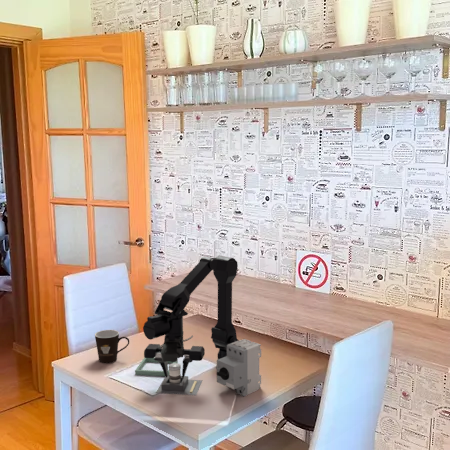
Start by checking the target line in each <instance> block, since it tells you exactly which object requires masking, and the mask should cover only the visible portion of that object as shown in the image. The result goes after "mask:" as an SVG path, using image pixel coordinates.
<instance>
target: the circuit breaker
mask: <svg viewBox="0 0 450 450" xmlns="http://www.w3.org/2000/svg"><path fill="white" fill-rule="evenodd" d="M238 340H239V341H236V342H233V343H231V344H228V345H227V356H226V357H223V358H221V359H218V358H217V360H216V367H215V369H216V382H217V384H219V385H223V386H225V387H227V388H229V389H232V390H236V391H235V394H237V395H240V396H242V397H246V396H248V395H250V394H252V393H255V392H257V391H259V390H261V389H262V387H261V385H262V375H261V374H260V358H262V348H261V345H262V344H260V343H258V342H254V341H251V340H249V339H246V338H243V339H238Z"/></svg>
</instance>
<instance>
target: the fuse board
mask: <svg viewBox="0 0 450 450" xmlns="http://www.w3.org/2000/svg"><path fill="white" fill-rule="evenodd" d="M202 383H203V380H201V379H189V376H188V375H187V376H186V375H185V376H184V378H182V375H181V384H173V383H169V375H168V377H166V376H164V378H163V379H162V381H161V382H160V385H159V386H158V389H157V390H156V392H155V393H156V394H167V395H182V396H183V395H185V396H197V394H198V393H199V390H200V388H201V386H202Z"/></svg>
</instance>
